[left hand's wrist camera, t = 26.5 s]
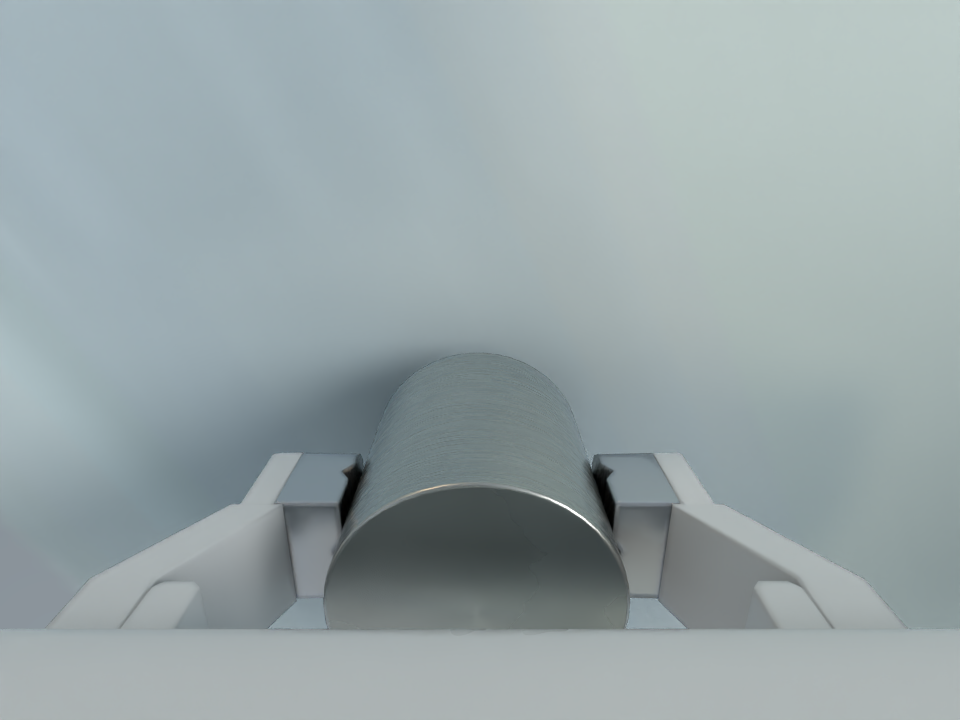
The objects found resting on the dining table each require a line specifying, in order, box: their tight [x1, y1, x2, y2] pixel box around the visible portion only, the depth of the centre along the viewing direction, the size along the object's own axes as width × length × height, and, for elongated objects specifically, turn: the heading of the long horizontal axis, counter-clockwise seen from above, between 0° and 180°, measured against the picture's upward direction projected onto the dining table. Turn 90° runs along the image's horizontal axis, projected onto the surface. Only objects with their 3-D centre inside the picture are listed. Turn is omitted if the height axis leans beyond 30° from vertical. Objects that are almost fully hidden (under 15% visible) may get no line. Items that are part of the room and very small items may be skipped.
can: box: [323, 353, 630, 629], centre depth 10 cm, size 4×4×5 cm
